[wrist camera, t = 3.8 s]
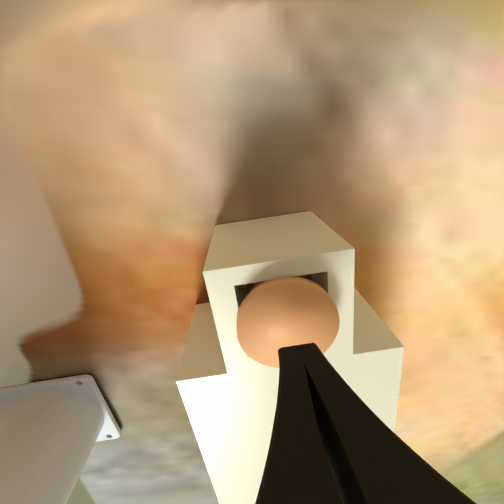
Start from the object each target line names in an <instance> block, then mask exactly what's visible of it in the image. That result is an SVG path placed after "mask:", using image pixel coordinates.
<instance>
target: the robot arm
mask: <svg viewBox="0 0 504 504" xmlns="http://www.w3.org/2000/svg"><path fill="white" fill-rule="evenodd" d="M278 356H279V385H278V395H277V404H276V411H275V417H274V423H273V429H272V435H271V440H270V445H269V450H268V455H267V459H266V463H265V468H264V472H263V476H262V480H261V484H260V487H259V491H258V495H257V499H256V503H255V504H476V503H475V502H473V501H472V500H471V499H470V498H469V497H467V496H466V495H465V494H464V493H462V492H461V491H460V490H459V489H458V488H456V487H455V486H454V485H453V484H451V483H450V482H449V481H448V480H446V479H445V478H444V477H443V476H442V475H440V474H439V473H438V472H437V471H436V470H435V469H434V468H432V467H431V466H430V465H429V464H428V463H427V462H426V461H424V460H423V459H422V458H421V457H420V456H419V455H418V454H416V453H415V452H414V451H413V450H412V449H411V448H410V447H409V446H408V445H407V444H406V443H404V442H403V441H402V440H401V439H400V438H399V437H398V436H397V435H396V434H395V433H394V432H393V431H392V430H391V429H390V428H389V427H388V426H387V425H386V424H385V423H384V422H383V421H382V420H381V419H380V418H379V417H378V416H377V415H376V414H375V413H374V412H373V411H372V410H371V409H370V408H369V407H368V406H367V405H366V404H365V403H364V402H363V401H362V400H361V399H360V398H359V396H358V395H357V394H356V393H355V392H354V391H353V390H352V389H351V387H350V386H349V385H348V384H347V383H346V382H345V381H344V379H343V378H342V377H341V376H340V375H339V374H338V372H337V371H336V370H335V369H334V367H333V366H332V365H331V364H330V362H329V361H328V360H327V358H326V357H325V356H324V354H323V353H322V352H321V350H320V349H319V347H318V346H317V345H316V344H315V343H307V344H301V345H294V346H288V347H281V348H280V349H279V350H278ZM120 434H121V430H120V428H119V426H118V424H117V422H116V420H115V418H114V417H113V415H112V413H111V411H110V409H109V407H108V405H107V403H106V401H105V399H104V398H103V396H102V394H101V392H100V390H99V388H98V386H97V384H96V382H95V380H94V379H93V377H92V376H91V375H79V376H72V377H66V378H59V379H53V380H46V381H39V382H33V383H26V384H20V385H13V386H7V387H0V504H66V503H67V501H68V499H69V497H70V495H71V492H72V490H73V488H74V486H75V484H76V482H77V480H78V478H79V476H80V474H81V471H82V469H83V467H84V465H85V463H86V461H87V459H88V457H89V455H90V452H91V450H92V448H93V446H94V444H95V442H97V441H103V440H110V439H116V438H119V437H120Z"/></svg>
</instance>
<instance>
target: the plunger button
mask: <svg viewBox="0 0 504 504" xmlns="http://www.w3.org/2000/svg"><path fill="white" fill-rule="evenodd" d="M339 324H340V319H339V313H338V310H337V307H336V305H335V304H334V302H333V300H332V299H331V297H330V296H329V294H328V293H327V292H326V291H325V289H324V288H322V287H321V286H320V285H318V284H317V283H315V282H313V281H311V280H308V279H306V278H305V277H304V275H301V276H294V277H280V278H275V279H272V280H268V281H261V282H255V283H248V284H247V296H246V297H245V298H244V300H243V301H242V303H241V305H240V307H239V310H238V313H237V321H236V332H237V338H238V342H239V344H240V346H241V348H242V349H243V351H244V352H245V353H246V354H247V355H248V356H249V357H250V358H252V359H253V360H255V361H256V362H258V363H261V364H263V365H266V366H270V367H276V368H279V356H278V350H279V349H280V348H281V347H288V346H294V345H301V344H307V343H315V344H316V345H317V346H318V347H319V349H320V350H321V352H322V353H324V352H326V351H327V349H328V348H329V347H330V346H331V345H332V343H333V342H334V340H335V338H336V336H337V333H338V330H339Z"/></svg>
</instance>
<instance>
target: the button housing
mask: <svg viewBox="0 0 504 504" xmlns="http://www.w3.org/2000/svg"><path fill="white" fill-rule="evenodd" d="M354 269H355V248H354V247H352V246H351V245H350V244H349V243H348V242H347V241H345V240H344V239H343V238H342V237H341V236H340V235H338V234H337V233H336V232H335V231H334V230H333V229H331V228H330V227H329V226H328V225H327V224H326V223H324V222H323V221H322V220H321V219H320V218H319V217H317V216H316V215H315V214H314V213H313V212H312V211H306V212H299V213H293V214H286V215H279V216H273V217H266V218H260V219H253V220H247V221H240V222H234V223H227V224H220V225H215V228H214V231H213V235H212V239H211V242H210V246H209V250H208V254H207V257H206V261H205V265H204V269H203V275H204V279H205V283H206V288H207V292H208V296H209V300H210V302H209V303H202V304H196V305H195V309H194V313H193V317H192V321H191V325H190V329H189V333H188V337H187V340H186V344H185V348H184V352H183V356H182V360H181V364H180V368H179V372H178V376H177V379H176V383H177V386H178V389H179V391H180V394H181V397H182V400H183V403H184V405H185V408H186V411H187V414H188V417H189V420H190V422H191V425H192V428H193V431H194V434H195V436H196V439H197V442H198V445H199V448H200V451H201V453H202V456H203V459H204V462H205V465H206V467H207V470H208V473H209V476H210V479H211V482H212V484H213V487H214V490H215V493H216V496H217V498H218V501H219V504H255V503H256V499H257V495H258V491H259V487H260V484H261V480H262V476H263V472H264V468H265V463H266V459H267V455H268V450H269V445H270V440H271V435H272V429H273V423H274V417H275V411H276V404H277V395H278V385H279V368H276V367H270V366H266V365H263V364H261V363H258V362H256V361H255V360H253V359H252V358H250V357H249V356H248V355H247V354H246V353H245V352H244V351H243V349H242V348H241V346H240V344H239V342H238V338H237V332H236V321H237V313H238V310H239V307H240V305H241V303H242V301H243V300H244V298H245V297H246V296H247V284H248V283H255V282H261V281H268V280H272V279H275V278H280V277H294V276H301V275H304V277H305V278H306V279H308V280H311V281H313V282H315V283H317V284H318V285H320V286H321V287H322V288H324V289H325V291H326V292H327V293H328V294H329V296H330V297H331V299H332V300H333V302H334V304H335V305H336V307H337V310H338V313H339V319H340V324H339V330H338V333H337V336H336V338H335V340H334V342H333V343H332V345H331V346H330V347H329V348H328V349H327V351H326V352H324V353H323V354H324V356H325V357H326V358H327V360H328V361H329V362H330V364H331V365H332V366H333V367H334V369H335V370H336V371H337V372H338V374H339V375H340V376H341V377H342V378H343V379H344V381H345V382H346V383H347V384H348V385H349V386H350V387H351V389H352V390H353V391H354V392H355V393H356V394H357V395H358V396H359V398H360V399H361V400H362V401H363V402H364V403H365V404H366V405H367V406H368V407H369V408H370V409H371V410H372V411H373V412H374V413H375V414H376V415H377V416H378V417H379V418H380V419H381V420H382V421H383V422H384V423H385V424H386V425H387V426H388V427H389V428H390V429H391V430H392V431H393V432H394V430H395V421H396V413H397V404H398V396H399V388H400V379H401V371H402V362H403V354H404V346H403V345H402V343H401V342H400V341H399V340H398V339H397V337H396V336H395V335H394V334H393V333H392V331H391V330H390V329H389V328H388V327H387V325H386V324H385V323H384V322H383V321H382V320H381V318H380V317H379V316H378V315H377V314H376V312H375V311H374V310H373V309H372V308H371V306H370V305H369V304H368V303H367V302H366V301H365V299H364V298H363V297H362V296H361V295H360V293H359V292H358V291H357V290H356V289H355V287H354Z"/></svg>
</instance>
